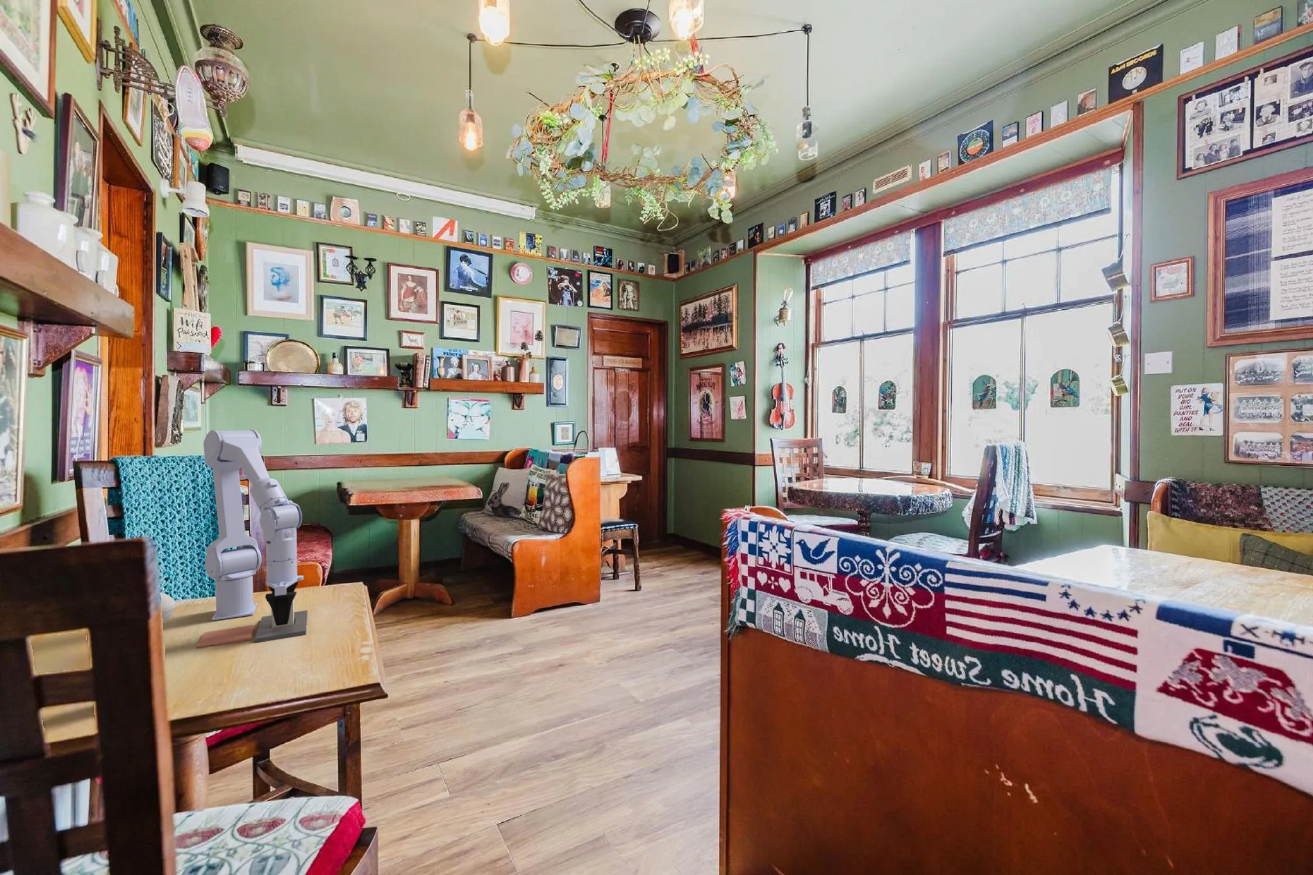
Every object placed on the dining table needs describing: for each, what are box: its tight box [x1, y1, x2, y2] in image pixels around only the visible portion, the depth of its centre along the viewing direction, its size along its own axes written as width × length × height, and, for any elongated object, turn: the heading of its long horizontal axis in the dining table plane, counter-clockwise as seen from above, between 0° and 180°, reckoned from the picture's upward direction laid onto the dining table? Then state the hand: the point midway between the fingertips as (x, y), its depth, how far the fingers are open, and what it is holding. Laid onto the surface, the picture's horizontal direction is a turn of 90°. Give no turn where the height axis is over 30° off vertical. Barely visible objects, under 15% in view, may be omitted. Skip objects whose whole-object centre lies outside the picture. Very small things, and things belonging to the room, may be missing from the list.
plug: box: [271, 598, 295, 628], centre depth 128 cm, size 4×4×6 cm
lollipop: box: [159, 592, 177, 624], centre depth 103 cm, size 6×6×15 cm
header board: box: [254, 609, 308, 643], centre depth 128 cm, size 16×9×1 cm, turn 30°
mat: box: [195, 624, 256, 649], centre depth 122 cm, size 9×9×1 cm
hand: (283, 619), depth 128 cm, fingers open, 7 cm apart
